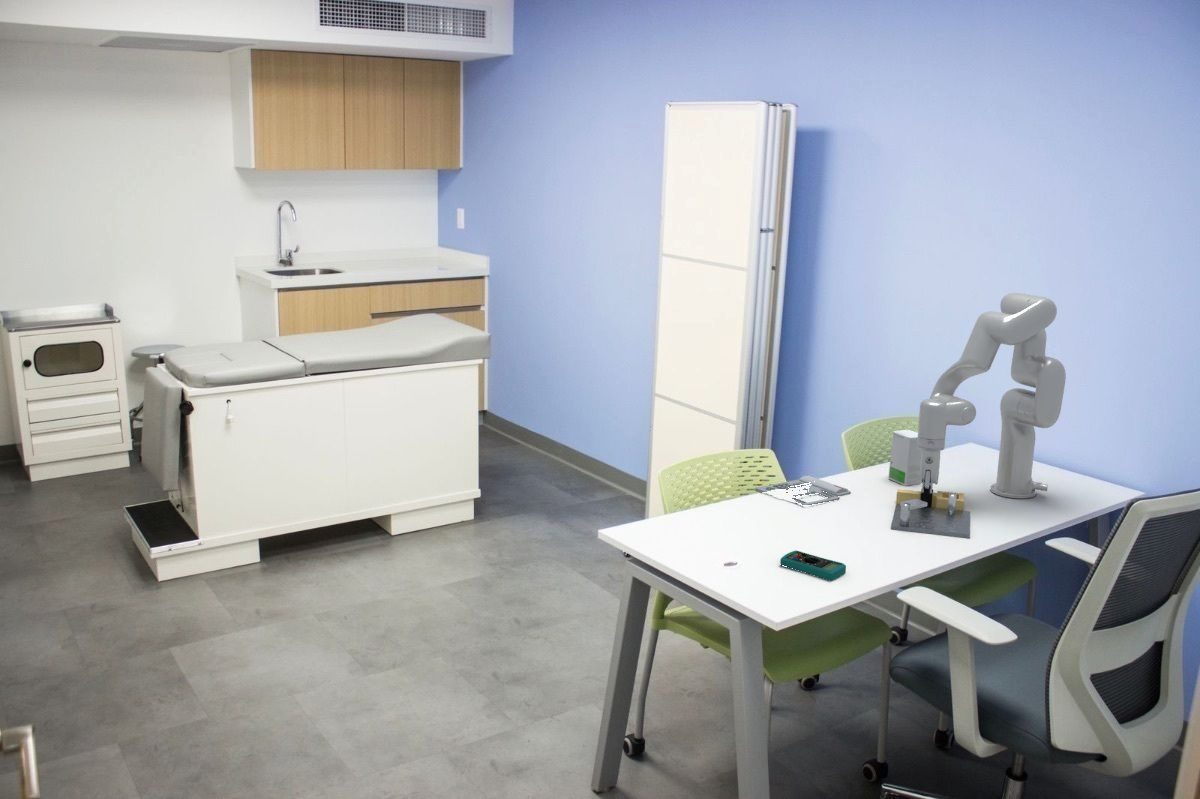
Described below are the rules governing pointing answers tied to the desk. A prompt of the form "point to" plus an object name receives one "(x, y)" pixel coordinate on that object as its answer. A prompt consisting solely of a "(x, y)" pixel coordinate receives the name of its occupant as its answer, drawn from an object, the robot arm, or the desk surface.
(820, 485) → the office telephone
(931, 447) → the robot arm
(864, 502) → the desk surface
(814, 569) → the digital multimeter
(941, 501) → the link
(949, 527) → the pintle plate
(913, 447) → the skincare box
